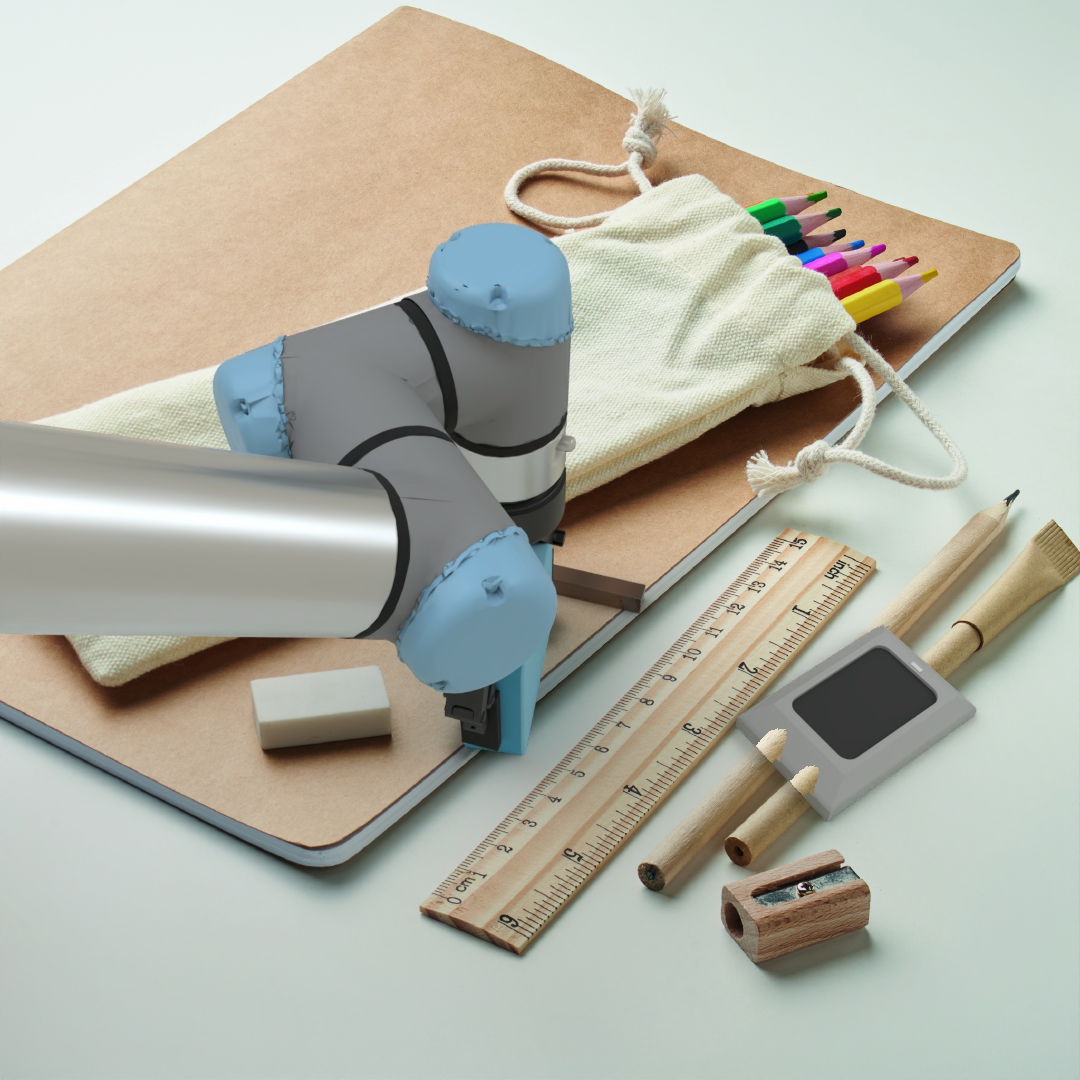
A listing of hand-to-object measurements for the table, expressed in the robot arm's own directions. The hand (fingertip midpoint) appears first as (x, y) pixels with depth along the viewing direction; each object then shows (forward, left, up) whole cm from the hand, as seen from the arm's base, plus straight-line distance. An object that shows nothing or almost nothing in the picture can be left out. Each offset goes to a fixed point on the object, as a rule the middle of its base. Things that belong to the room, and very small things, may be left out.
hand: (509, 670), depth 90 cm
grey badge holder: (+23, +11, -3) cm, 26 cm away
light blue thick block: (0, 0, -3) cm, 3 cm away
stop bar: (0, +11, -3) cm, 11 cm away
